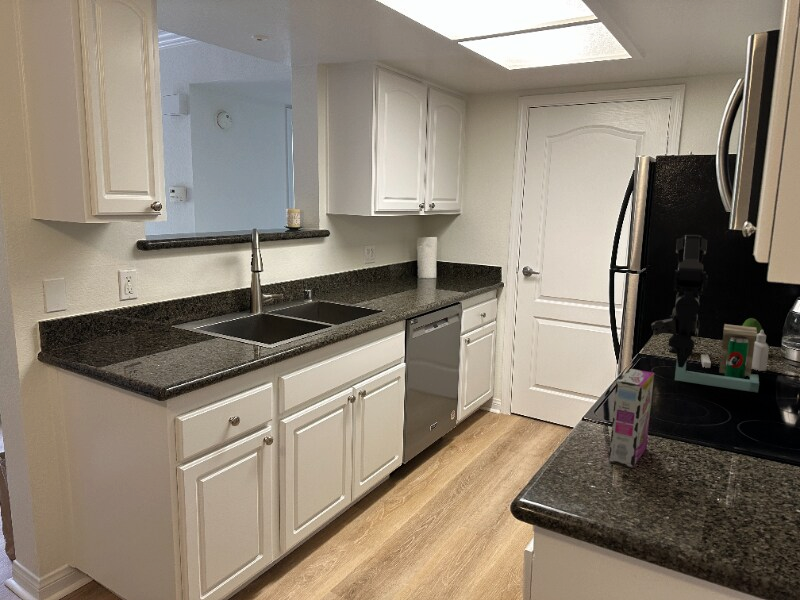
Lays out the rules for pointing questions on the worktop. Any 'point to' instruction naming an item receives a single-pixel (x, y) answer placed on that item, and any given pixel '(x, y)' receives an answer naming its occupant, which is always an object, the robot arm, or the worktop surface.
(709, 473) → the worktop surface
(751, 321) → the avocado
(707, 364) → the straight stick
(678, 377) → the crook tool
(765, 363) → the eye dropper bottle
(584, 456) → the worktop surface
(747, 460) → the worktop surface
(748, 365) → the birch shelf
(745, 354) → the soda can
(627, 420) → the candy bar box
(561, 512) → the worktop surface
